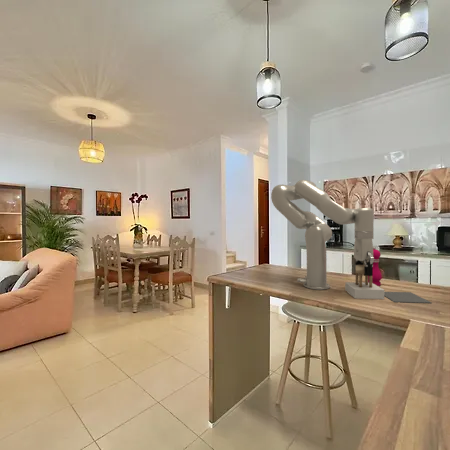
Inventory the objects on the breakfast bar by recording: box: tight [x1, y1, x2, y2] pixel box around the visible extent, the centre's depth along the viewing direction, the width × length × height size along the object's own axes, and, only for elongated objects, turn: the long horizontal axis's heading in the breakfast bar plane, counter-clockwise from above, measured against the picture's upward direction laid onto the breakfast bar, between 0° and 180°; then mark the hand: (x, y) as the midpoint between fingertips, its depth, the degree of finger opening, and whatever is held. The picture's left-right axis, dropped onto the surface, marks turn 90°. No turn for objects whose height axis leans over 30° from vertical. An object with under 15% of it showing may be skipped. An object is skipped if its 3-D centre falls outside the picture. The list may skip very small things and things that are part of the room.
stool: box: [355, 264, 372, 288], centre depth 115 cm, size 7×7×9 cm
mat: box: [384, 291, 432, 304], centre depth 111 cm, size 14×14×1 cm
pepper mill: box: [368, 245, 383, 287], centre depth 132 cm, size 7×7×20 cm
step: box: [344, 281, 385, 300], centre depth 116 cm, size 12×12×4 cm
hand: (363, 273), depth 115 cm, fingers open, 9 cm apart
